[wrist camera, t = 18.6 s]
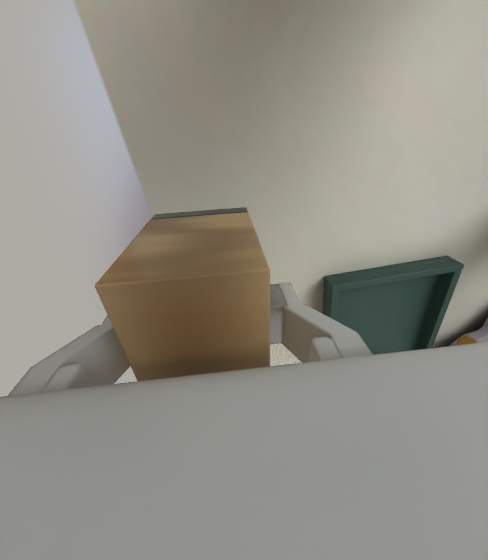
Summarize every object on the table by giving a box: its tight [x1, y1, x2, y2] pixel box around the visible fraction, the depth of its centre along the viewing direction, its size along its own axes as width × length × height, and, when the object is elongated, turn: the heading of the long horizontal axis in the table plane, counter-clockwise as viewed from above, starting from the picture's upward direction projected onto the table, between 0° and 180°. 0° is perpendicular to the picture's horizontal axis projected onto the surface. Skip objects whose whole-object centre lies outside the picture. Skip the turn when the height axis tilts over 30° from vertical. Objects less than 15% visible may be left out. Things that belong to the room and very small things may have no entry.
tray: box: [323, 256, 464, 355], centre depth 33 cm, size 22×15×2 cm
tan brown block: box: [95, 207, 270, 381], centre depth 10 cm, size 4×7×6 cm, turn 3°
